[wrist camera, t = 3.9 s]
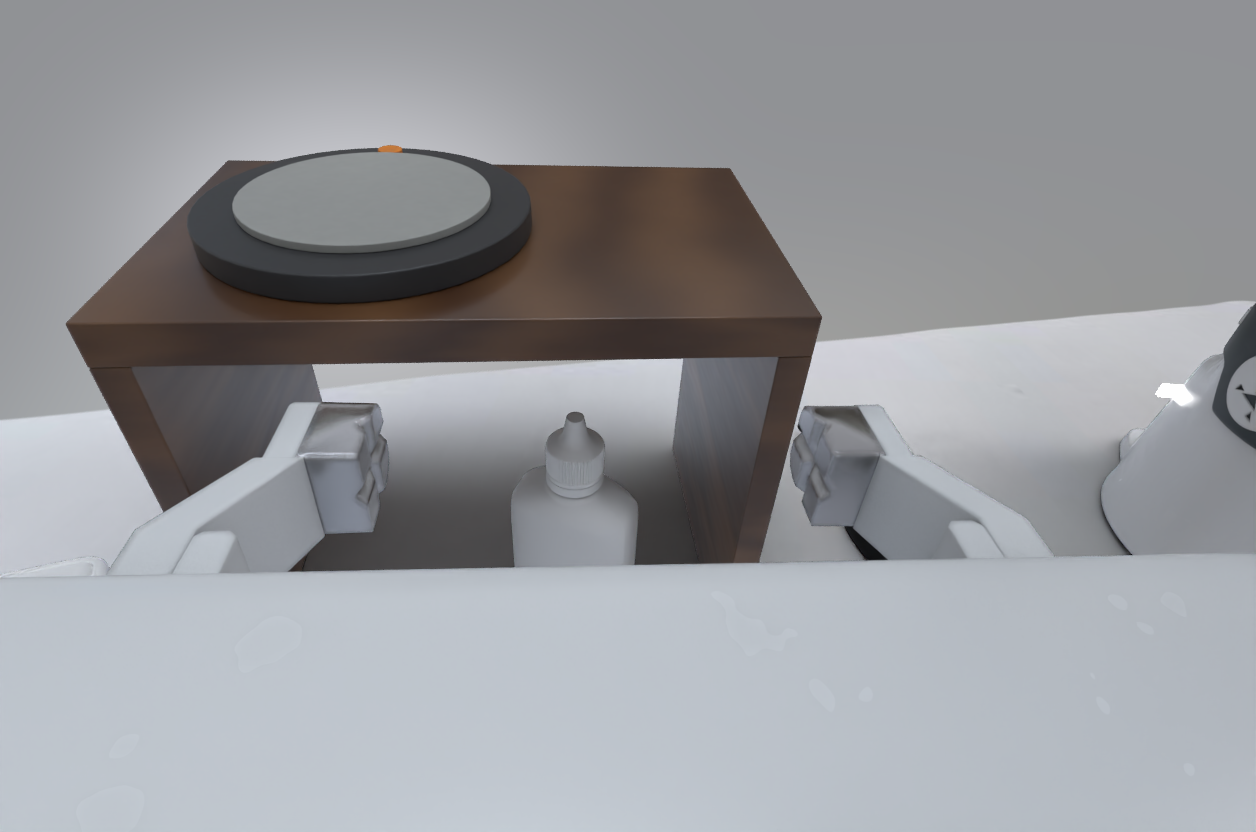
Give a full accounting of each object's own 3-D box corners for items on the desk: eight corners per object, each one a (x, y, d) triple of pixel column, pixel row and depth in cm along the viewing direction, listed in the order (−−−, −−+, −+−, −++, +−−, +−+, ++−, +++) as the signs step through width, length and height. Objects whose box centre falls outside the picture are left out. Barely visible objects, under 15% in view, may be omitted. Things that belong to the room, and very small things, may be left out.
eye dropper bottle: (573, 548, 38) (574, 366, 30) (643, 616, 35) (663, 431, 27) (506, 590, 36) (489, 403, 28) (574, 667, 32) (575, 479, 25)
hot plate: (532, 172, 32) (531, 143, 31) (531, 303, 23) (530, 266, 22) (255, 168, 31) (247, 137, 30) (134, 306, 21) (117, 266, 20)
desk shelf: (690, 447, 45) (730, 167, 34) (740, 636, 34) (823, 316, 23) (318, 459, 42) (227, 160, 31) (243, 667, 32) (63, 323, 20)
